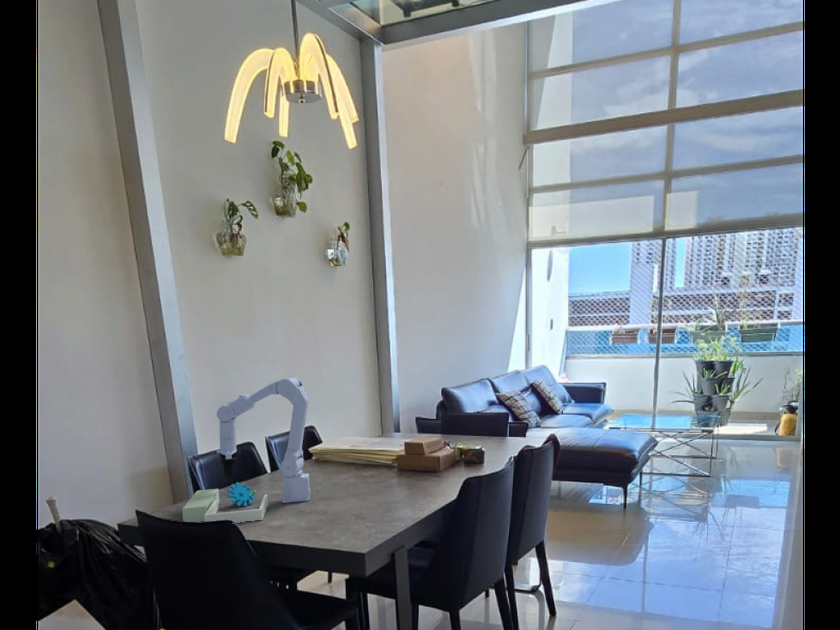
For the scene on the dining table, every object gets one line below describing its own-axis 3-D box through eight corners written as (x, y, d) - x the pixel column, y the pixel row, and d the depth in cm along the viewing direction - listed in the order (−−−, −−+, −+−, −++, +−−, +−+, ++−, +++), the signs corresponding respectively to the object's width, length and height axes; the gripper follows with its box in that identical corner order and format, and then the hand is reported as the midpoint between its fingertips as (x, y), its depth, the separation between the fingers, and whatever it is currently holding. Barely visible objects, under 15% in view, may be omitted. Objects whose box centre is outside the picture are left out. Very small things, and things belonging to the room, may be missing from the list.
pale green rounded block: (220, 502, 216) (219, 488, 216) (208, 521, 194) (207, 506, 194) (198, 504, 215) (197, 490, 215) (183, 523, 193) (182, 508, 193)
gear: (233, 506, 204) (225, 482, 210) (226, 516, 207) (218, 492, 212) (262, 502, 212) (253, 479, 218) (255, 512, 215) (246, 489, 220)
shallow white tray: (268, 504, 210) (267, 494, 210) (262, 520, 192) (261, 509, 192) (215, 509, 207) (214, 499, 207) (204, 526, 189) (204, 515, 189)
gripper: (216, 435, 222) (216, 471, 222) (216, 442, 208) (217, 480, 208) (235, 433, 225) (236, 469, 224) (237, 440, 211) (238, 478, 211)
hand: (228, 474), depth 216 cm, fingers open, 7 cm apart
